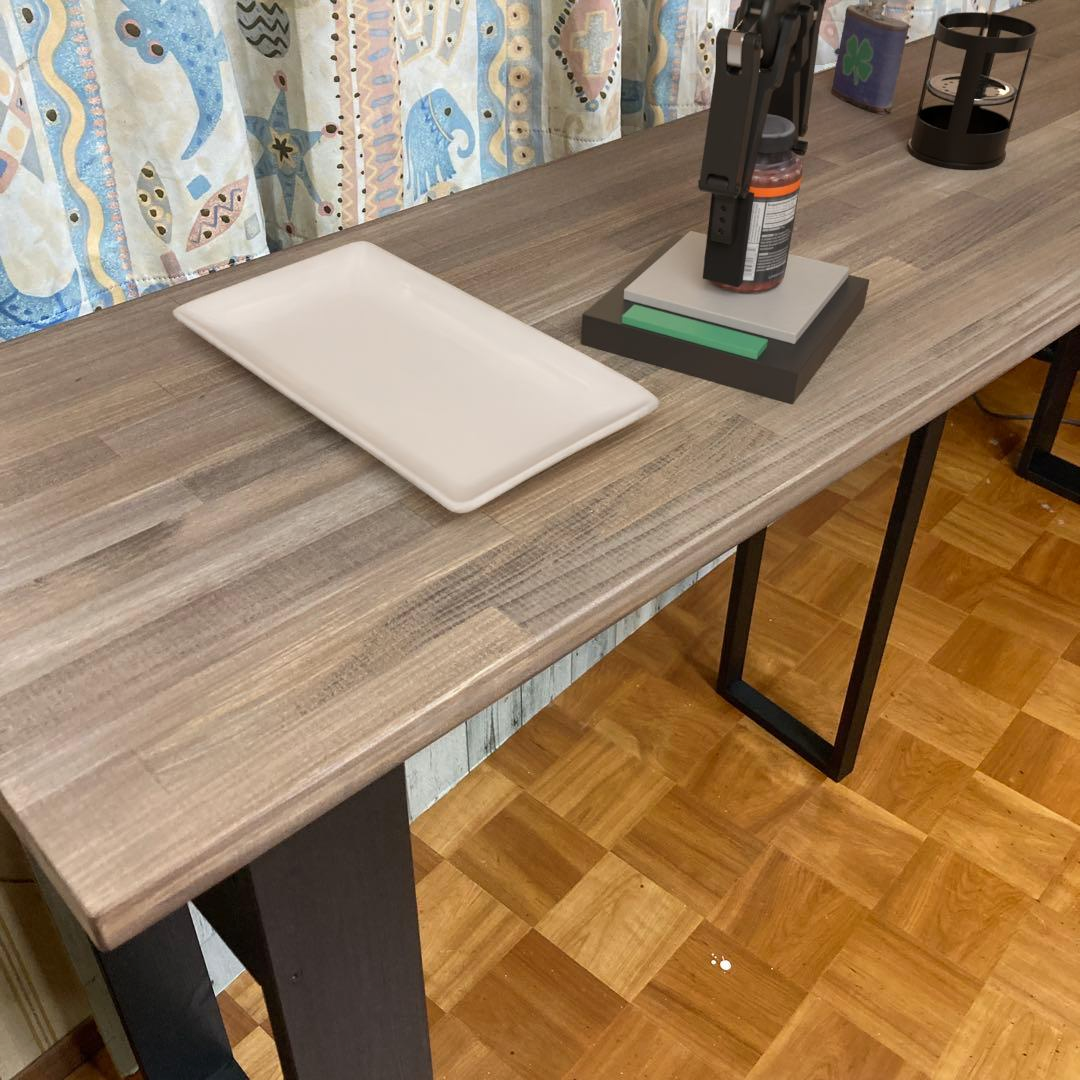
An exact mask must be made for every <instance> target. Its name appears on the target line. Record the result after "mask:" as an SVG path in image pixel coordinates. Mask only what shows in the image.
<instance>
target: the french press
mask: <svg viewBox="0 0 1080 1080" xmlns="http://www.w3.org/2000/svg"><path fill="white" fill-rule="evenodd" d="M1021 1H1022V2H1026V3H1035V2H1037V1H1038V0H1021ZM995 3H996V0H990V3H989V5H988V6H989V7H988V10H987V11H985V12H979V11H978V12H977V11H976V12H975V11H964V12H963V11H961V12H953V13H947V14H944V15H941V16H940V17H938V18H937V20H936V25H935V30H934V34H933V39H932V42H931V48H930V53H929V57H928V61H927V67H926V71H925V75H924V79H923V84H922V89H921V94H920V97H919V101H918V103H919V104H918V108H917V111H916V116H915V121H914V126H913V130H912V136H911V138H910V139H909V140H908V143H907V146H906V148H907V151H908V152H909V154H910V155H912V156H913V157H914V158H916V159H918V160H920V161H922V162H924V163H926V164H927V163H928V164H930V165H934V166H937V167H941V168H947V169H955V170H973V171H974V170H986V169H990V168H991V169H992V168H995V167H997V166H1000V165H1001V164H1003V162H1004V161H1005V160H1006V157H1007V151H1006V148H1007V145H1008V140H1009V137H1010V133H1011V130H1012V125H1013V121H1014V119H1015V115H1016V111H1017V107H1018V105H1019V104H1018V103H1019V99H1020V96H1021V93H1022V88H1023V85H1024V81H1025V78H1026V74H1027V70H1028V67H1029V64H1030V59H1031V55H1032V52H1033V48H1034V45H1035V41H1036V38H1037V33H1038V27H1037V26H1036V25H1035V24H1034V23H1032V22H1030V21H1028V20H1025V19H1022V18H1018V17H1015V16H1011V15H1006V14H1005V13H1004V12H996V11H993V10H994V7H995ZM954 28H955V29H956V28H979V31H978V35H975V34H969V33H965V32H960V31H958V30H954ZM1001 31H1003V32H1007V33H1011V34H1015V35H1017V36H1014V37H1013V36H1011V37H1001V36H1000V35H1001ZM938 42H939V43H941V44H944V45H946V46H949V47H952V48H955V49H960V50H964V51H965V54H964V59H963V63H962V67H961V71H960V73H958V72H955V73H952V72H951V73H941V74H936V75H934V76H932V77H930V74H931V70H932V65H933V61H934V56H935V52H936V47H937V43H938ZM1025 51H1027V54H1026V58H1025V62H1024V65H1023V68H1022V73H1021V77H1020V80H1019V84H1018V88H1017V87H1016V86H1014V84H1012V83H1010V82H1008V81H1006V80H1003V79H999V78H997V77H993V76H991V72H992V68H993V63H994V59H995V56H996V54H1015V53H1022V52H1025ZM926 92H928V93H929V94H930V95H931V96H933V97H935V98H938V99H939V100H942V101H946V102H949V103H942V104H941V103H940V104H933V105H928V106H925V107H924V102H925V98H926ZM1013 101H1014V102H1013ZM1012 102H1013V106H1012V109H1011V113H1010V117H1007V116H1005V115H1004V114H1002V113H1000V112H997V111H994V110H991V109H989V108H988V109H987V108H985V107H995V106H1002V105H1006V104H1009V103H1012Z"/></svg>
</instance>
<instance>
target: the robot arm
mask: <svg viewBox="0 0 1080 1080" xmlns="http://www.w3.org/2000/svg"><path fill="white" fill-rule="evenodd" d="M826 3H827V0H741V1H740V4H739V6H738V7H737V9H736V11H735V14H734V18H733V24H732V27H731V28H727V27H720V28H719V29H718V32H717V34H716V36H715V67H714V68H715V69H714V70H715V71H714V77H713V83H712V91H711V98H710V105H709V113H708V120H707V126H706V132H705V140H704V147H703V154H702V160H701V161H702V162H701V167H700V176H699V179H698V182H697V187H698V190H699V191H701V192H705V193H710V194H711V195H710V196H711V198H710V207H709V214H708V215H709V216H708V223H707V224H708V225H707V232H706V233H707V234H706V235H707V242H706V251H705V260H704V269H703V279H707V280H711V281H715V282H719V283H723V284H727V285H731V286H735V287H739V286H740V285H741V284H742V282H743V275H744V267H745V260H746V252H747V245H748V237H749V230H750V222H751V215H752V207H753V200H754V193H752V192H749V190H750V184H751V180H752V175H753V171H754V167H755V163H756V159H757V154H758V150H759V146H760V142H761V138H762V133H763V129H764V125H765V121H766V117H767V114H770V115H776V116H780V117H783V118H786V119H788V120H789V121H791V122H792V123H793V124H794V126H795V133H794V144H793V146H792V147H791V148H790V150H791V151H793V152H794V153H795V154H796V155H797V156H800V157H804V156H805V155H806V152H807V150H808V148H809V147H808V146H809V141H806V140H800V139H799V138H804V137H805V135H807V132H808V128H809V126H808V124H809V117H810V108H811V100H812V93H813V92H812V91H813V85H814V84H813V83H814V78H815V77H814V76H815V70H816V69H815V68H816V60H817V53H818V52H817V51H818V45H819V37H820V28H821V25H822V19H823V14H824V10H825V5H826Z"/></svg>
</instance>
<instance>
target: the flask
mask: <svg viewBox="0 0 1080 1080" xmlns="http://www.w3.org/2000/svg"><path fill="white" fill-rule="evenodd" d="M888 1H889V0H868V2H869V3H871V4H870V5H869V4H868V2H864V3H856V4H850V5H848V6H847V7H846V9H845V15H844V16H845V17H844V21H843V27H842V32H841V37H840V42H839V48H838V54H837V58H836V63H835V68H834V74H833V75H834V76H833V80H832V84H831V90H830V93H831V92H832V93H833V94H832V93H831V94H832V95H834V96H836V97H837V98H839V99H840V100H842V101H845V102H847V103H850V104H851V105H853V106H856V107H858V108H860V109H863V110H865V111H867V112H874V113H875V114H878V115H879V114H882V115H885V114H887V113H891V112H892V110H893V106H894V101H895V95H896V90H897V83H898V78H899V73H900V69H901V63H902V59H903V54H904V50H905V44H906V40H907V37H908V33H909V32H908V31H909V28H910V25H909V23H908V22H905V21H901V20H898V19H894V18H893V17H889V16H887V15H884V14H883V12H884V10H885V5H887V4H888Z"/></svg>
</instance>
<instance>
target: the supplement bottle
mask: <svg viewBox="0 0 1080 1080" xmlns="http://www.w3.org/2000/svg"><path fill="white" fill-rule="evenodd" d="M794 133H795V126H794V124H793V123H792V122H791V121H789V120H788V119H786V118H783V117H780V116H776V115H770V114H767V117H766V121H765V125H764V129H763V133H762V138H761V142H760V146H759V150H758V154H757V159H756V163H755V167H754V171H753V175H752V180H751V184H750V190H749V192H752V193H754V200H753V207H752V215H751V222H750V230H749V237H748V245H747V252H746V260H745V267H744V275H743V282H742V284H741V285H740V286H739V287H735V286H731V285H727V284H723V283H719V282H715V281H711V280H710V281H711V282H713V283H714V284H715V285H717V286H719V287H721V288H723V289H726V290H729V291H734V292H739V293H760V292H764V291H768V290H770V289H773V288H775V287H777V286H778V285H779V284H780V283H781V282H782V280H783V278H784V275H785V270H786V266H787V260H788V254H790V248H791V242H792V236H793V230H794V225H795V220H796V214H797V208H798V202H799V196H800V190H801V183H802V178H803V168H804V167H803V164H802V160H801V158H800V157H799V155H796V154H795V153H794V152H793V151H791V150H790V148H791V147H792V146H793V144H794ZM706 241H707V239H706ZM705 251H706V250H705ZM704 260H705V257H704Z"/></svg>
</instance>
